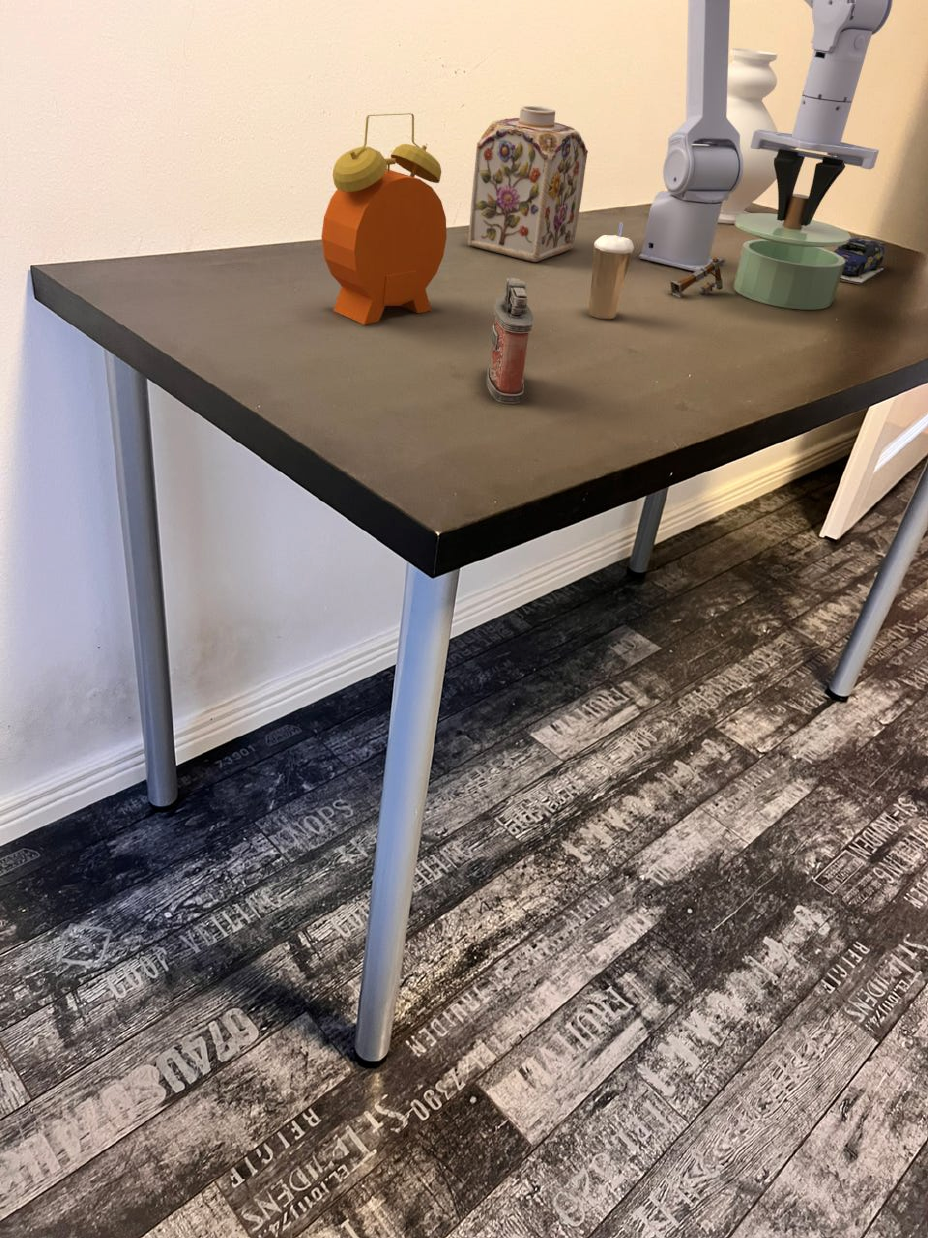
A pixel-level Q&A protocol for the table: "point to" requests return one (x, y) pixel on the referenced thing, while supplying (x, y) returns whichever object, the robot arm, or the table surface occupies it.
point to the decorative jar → (527, 186)
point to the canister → (788, 274)
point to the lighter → (509, 343)
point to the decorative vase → (749, 126)
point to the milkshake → (609, 273)
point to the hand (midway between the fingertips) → (793, 221)
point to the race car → (860, 259)
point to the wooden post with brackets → (698, 275)
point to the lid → (792, 227)
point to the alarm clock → (383, 230)
